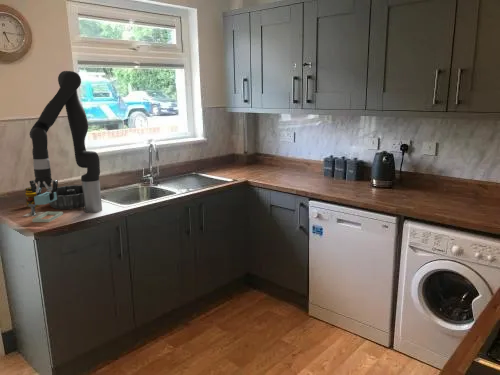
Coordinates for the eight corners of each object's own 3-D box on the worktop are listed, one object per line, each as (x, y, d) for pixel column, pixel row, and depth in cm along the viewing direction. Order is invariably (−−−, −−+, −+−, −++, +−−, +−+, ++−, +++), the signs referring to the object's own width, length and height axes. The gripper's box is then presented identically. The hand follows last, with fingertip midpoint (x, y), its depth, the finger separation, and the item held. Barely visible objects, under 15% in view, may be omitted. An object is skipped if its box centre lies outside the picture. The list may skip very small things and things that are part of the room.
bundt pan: (93, 211, 231) (91, 193, 229) (42, 214, 226) (39, 196, 223) (99, 199, 256) (97, 183, 254) (53, 202, 251) (51, 186, 249)
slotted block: (47, 199, 218) (46, 192, 217) (57, 199, 218) (56, 192, 217) (35, 204, 207) (34, 196, 206) (45, 204, 207) (44, 196, 206)
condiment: (27, 210, 233) (24, 189, 231) (25, 207, 240) (22, 187, 238) (41, 208, 238) (39, 188, 235) (38, 205, 244) (36, 185, 242)
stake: (31, 213, 227) (29, 202, 225) (45, 213, 226) (43, 202, 225) (22, 218, 219) (20, 206, 218) (36, 218, 218) (35, 206, 217)
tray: (47, 216, 222) (47, 211, 221) (63, 216, 221) (62, 211, 220) (32, 223, 208) (32, 219, 208) (49, 224, 208) (48, 219, 207)
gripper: (59, 166, 212) (63, 198, 215) (32, 166, 213) (36, 198, 216) (51, 168, 204) (55, 202, 208) (23, 168, 205) (28, 201, 209)
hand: (45, 200), depth 212 cm, fingers closed on slotted block, 5 cm apart
